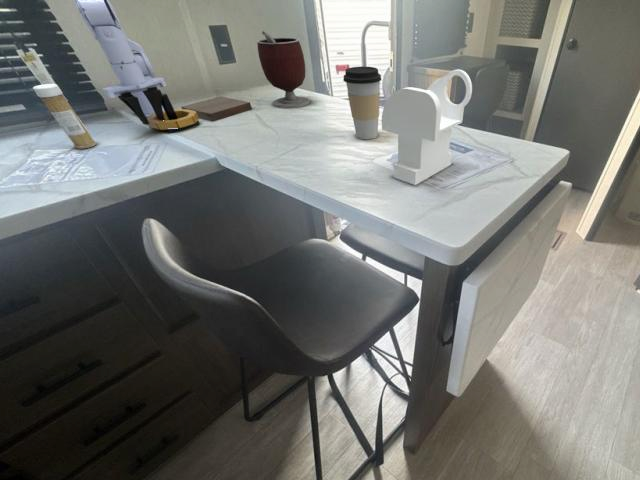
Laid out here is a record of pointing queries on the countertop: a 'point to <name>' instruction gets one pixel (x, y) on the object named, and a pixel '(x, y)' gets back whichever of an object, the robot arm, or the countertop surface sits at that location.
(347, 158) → the countertop surface
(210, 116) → the coaster
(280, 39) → the mate gourd
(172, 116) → the peg stand
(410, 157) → the tape dispenser
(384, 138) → the countertop surface
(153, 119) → the orange ring
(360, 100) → the coffee cup
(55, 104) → the sprinkles bottle
